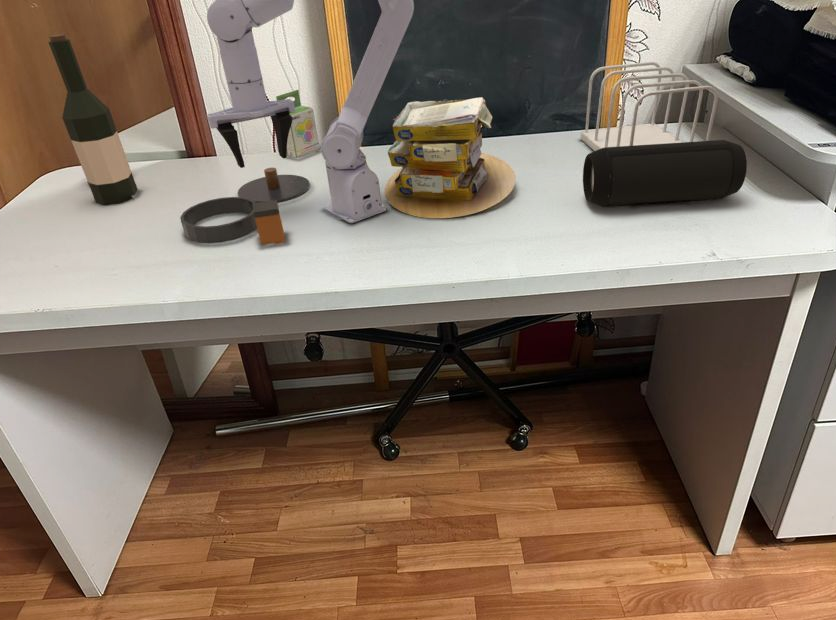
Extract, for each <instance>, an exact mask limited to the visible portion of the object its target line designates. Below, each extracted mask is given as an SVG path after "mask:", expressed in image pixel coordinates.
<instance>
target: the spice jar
mask: <svg viewBox="0 0 836 620" xmlns="http://www.w3.org/2000/svg"><path fill="white" fill-rule="evenodd" d="M253 213H254V217H255V221H256V225H257V229H256V230H257V234H258V238H259V241H260V245H261V246H264V245H272V246H273V245H277V244H284V243H286V238H285V237H286V236H285V232H284V231H285V230H284V226H283V222H282V218H281V213H280V207H279V202H277V200H272V201H265V202H259V203H253Z"/></svg>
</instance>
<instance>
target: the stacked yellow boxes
mask: <svg viewBox="0 0 836 620" xmlns="http://www.w3.org/2000/svg"><path fill="white" fill-rule="evenodd" d="M492 120H493V115H492V113H491V112H490V111H489V108H488V107H487V101H486V100H485V99H484V97H482V96H481V97H474V98H473V97H471V98H469V99H463V100H461V99H454V100H452V99H451V100H448V98H444V99H443V100H439V101H436V100H427V101H418V100H417V101H416V100H415V101H410V102H407V104H406V105H405V107H404V108H402V110H401V111H400V113H399V114H398V116H396V117H395V118H393V119H392V121H394V122H393V124H392V125H391V128H392V132H393V135H394V139H395V141H394V142H393V144H391V146H390V147H389V149H388V150H387V154H388V158H389V162H390V165H391V167H395V168H397V167H398V168H399V169H398V170H397V171H395V172H394V173H393V174H392V175H391V176H390V178H389V179H388V181H387V182H386V184H385V187H384V195H385V198H386V200H387V202H388V203H389V205H391V206H392V207H393V208H394V209H396V210H397V211H400V212H401V213H404V214H407V215H409V216H414V217H419V218H426V219H451V218H460V217H464V216H465V217H466V216H468V215H472V214H475V213H479V212H483V211H484V210H487V209H490V208H492V207H493V206H495V205H497V204H499V203H500V202H502V201H503V200H504V199H505V198H507V197H508V196H509V195H510V194H511V192H512V191H513V189H514V188H515V185H516V181H517V180H516V179H517V177H516V172H515V171H514V169H513V168H512V166H511V165H510V164H509V163H508V162H506V161H505V160H503V159H501V158H500V157H497V156H494V155H492V154H488V153H485V152H484V153H483V152H482V151H481V148H482V147H483V137H482V136H483V133H482V131H481V128H482V126H483V127H485V128H487V129H492V126H491V123H492Z"/></svg>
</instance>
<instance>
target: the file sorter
mask: <svg viewBox="0 0 836 620" xmlns="http://www.w3.org/2000/svg"><path fill="white" fill-rule="evenodd" d="M645 66H655V67H646V68H636V67H645ZM626 68H632V69H626ZM634 68H635V69H634ZM617 69H622V70H617ZM606 70H613V71H611V72H609V73H607V74H606V75H605V76H604V77H603V79H602V81H601V83H600V84H601V85H600V91H599V100H598V107H597V115H596V124H595V129H590V130H589V125H590V113H591V103H592V101H591V100H592V90H593V81H594V78H595V76H596V75H597V74H599V72H601V71H606ZM663 71H667V72H669V73H663ZM649 72H658V74H648V75H635V76H625V77H623V78H622V77H621V78H620V79H619V80H618V81H617V82H615V84H614V85H613V87H612V90H611V94H610V102H609V110H608V117H607V125H606V128H600V123H601V122H600V121H601V114H602V106H603V97H604V92H605V91H604V90H605V85H606V82H607V80H608V79H609V78H611V77H613V76H615V75H622V74H623V75H624V74H635V73H649ZM666 78H667V79H668V78H671V81H662V79H666ZM676 78H682V79H683V80H676ZM652 79H653V80H654V79H657V82H650V83H649V82H648V83H638V84H634V85H631V86H630V87H629V88H628V89H627V90H626V91H625V92H624V95H623V96H622V101H621V108H620V116H619V123H618V126H615V127H611V124H612V118H613V117H612V115H613V110H614V102H615V95H616V90H617V88H618V87H619V85H621V84H622V83H624V82H628V81H629V82H630V81H639V80H641V81H642V80H652ZM692 84H693V85H696V86H691V87H690V85H692ZM679 85H680V86H681V85H685V87H679V88H675V86H679ZM667 86H670V89H662V90H661V89H660V87H667ZM654 87H656V90H653V91H647V92H645V93H643V94H642V95H640V97H638V99H637V101H636V102H635V104H634V110H633V116H632V122H631V125H624V126H623V124H624V116H625V108H626V101H627V98H628V95H629V94H630V93H631V92H632V91H633V90H636V89H641V88H654ZM704 90H705V91H706V90H709V91H711V93H712V94H713V104H712V109H711V113H710V119H709V124H708V128H707V132H706V136H705V141H711V136H712V131H713V125H714V121H715V116H716V111H717V107H718V101H719V94H718V91H717V89H716V88H715V87H714V86H711V85H702V84H701V82H700V81H697V80H694V79H689V78H688V77H687V76H686V75H685V74H683V73H680V72H679V73H678V72H677V73H675V72H674V70H673V69H672V68H670V67H668V66H661V65H660V64H659V63H657V62H655V61H645V62H636V63H626V64H615V65H606V66H601V67H598V68H596V69H595V70H594V71H593V72H592V74H591V75H590V77H589V83H588V93H587V104H586V105H587V106H586V115H585V116H586V117H585V128H584V130H582V131H581V132H580V140H581V141H583V142H584V143H585V144H586V145H587V146H588V147H589V148H591V149H592V150H593V152H594V151H596V150H599V149H601V148H605V147H620V146H635V145H651V144H666V143H682V142H684V141H683V140H681V139H680V138H679V137H680V133H681V128H682V123H683V119H684V114H685V109H686V104H687V99H688V94H689V92H693V91H694V92H695V91H699V93H698V99H697V103H696V105H697V106H696V108H695V114H694V118H693V122H692V128H691V131H690V132H691V133H690V137H689V142H694V139H695V133H696V130H697V124H698V119H699V115H700V111H701V105H702V100H703V95H704ZM675 93H676V94H677V93H684V94H683V99H682V103H681V108H680V114H679V118H678V123H677V129H676V134H675V135H674V134H672V133H671V132H670V131H668V130H667V128H668V122H669V116H670V110H671V105H672V99H673V95H674V94H675ZM667 94H668V100H667V106H666V111H665V117H664V122H663V127H662V126H660V125H658V124H657V123H656V122H655V121H656V115H657V109H658V103H659V102H658V101H659V95H667ZM649 96H654V104H653V111H652V117H651V123H650V122H649V123H640V124H637V117H638V112H639V106H640V104H641V103H642V101H643V100H644V99H646V98H647V97H649Z"/></svg>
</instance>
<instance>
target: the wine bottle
mask: <svg viewBox="0 0 836 620" xmlns="http://www.w3.org/2000/svg"><path fill="white" fill-rule="evenodd" d="M48 38H49V40H50V41H48V45H49V47H50V50H51V52H52V55H53V58H54V60H55V63H56V66H57V68H58V71H59V74H60V76H61V78H62V82H63V83H64V86H65V89H66V98H65V103H64V107H63V113H62V117H61V118H62V121H63V123H64V126H65V128H66V131H67V134H68V136H69V138H70V141H71V143H72V145H73V148H74V151H75V154H76V157H77V159H78V161H79V164H80V166H81V168H82V171H83V174H84V176H85V179H86V181H87V183H88V184H87V185H88V186H89V189H90V191H91V194H92V197H93V199H94V202H95V203H97V204H100V205H103V206H109V205H117V204H123V203H125V202H127V201H128V202H129V201H130V200H133V199H134V197H133V196H135V195H136V193H137V191H138V187H137V184H136V181H135V178H134V176H133V175H134V174H133V172H132V169H131V167H130V163H129V161H128V158H127V155H126V153H125V149H124V147H123V144H122V141H121V139H120V135H119V132H118V129H117V127H116V124H115V121H114V118H113V116H112V113H111V110H110V108H109V107H108V106H107V105H106V104H105V103H103V101H102V100H100V98H98V97H97V95H95V94H94V93H93V92H92V91H91V90H89V89H88V87H87V83H86V81H85V78H84V76H83V73H82V71H81V68H80V65H79V61H78V59H77V57H76V53H75V51H74V48H73V45H72V43H71V39H69V38H67V36H66V34H64V33H60V34H59V33H58V34H53V35H52V34H51V35H50V36H49V37H48Z"/></svg>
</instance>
